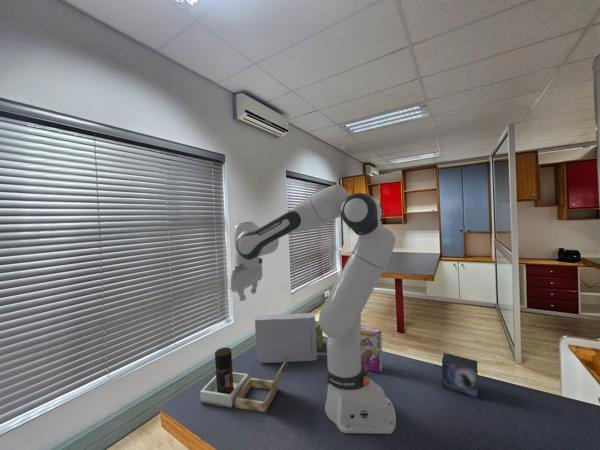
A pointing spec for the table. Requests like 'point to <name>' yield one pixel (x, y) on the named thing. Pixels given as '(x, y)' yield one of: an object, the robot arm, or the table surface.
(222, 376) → the deodorant
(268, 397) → the beige flat board
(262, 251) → the robot arm
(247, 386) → the frame
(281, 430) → the table surface
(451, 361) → the small box
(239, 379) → the tray
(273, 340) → the game console
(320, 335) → the chalk box
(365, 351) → the candy bar box
